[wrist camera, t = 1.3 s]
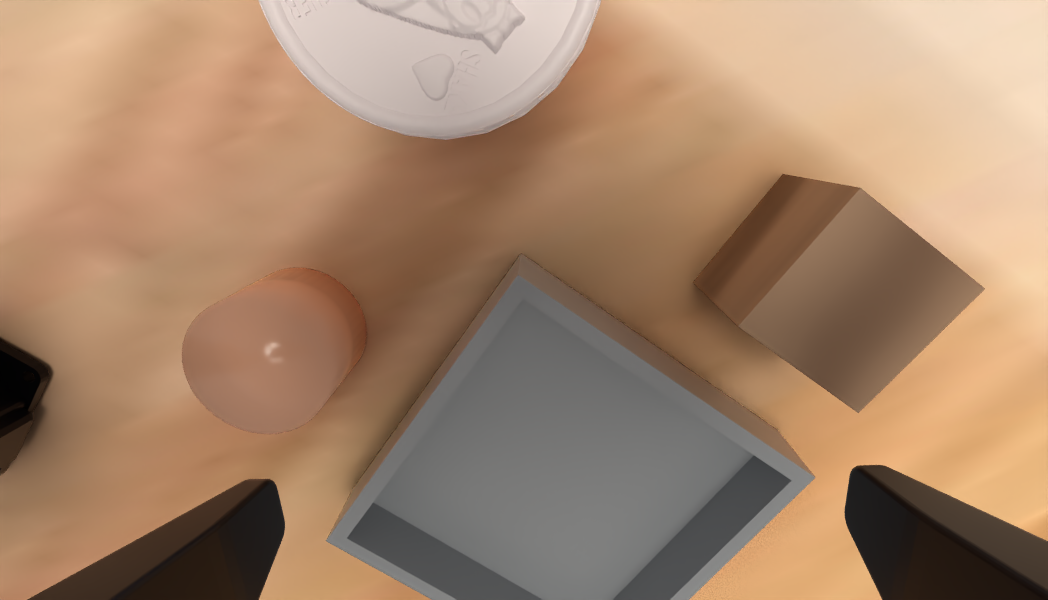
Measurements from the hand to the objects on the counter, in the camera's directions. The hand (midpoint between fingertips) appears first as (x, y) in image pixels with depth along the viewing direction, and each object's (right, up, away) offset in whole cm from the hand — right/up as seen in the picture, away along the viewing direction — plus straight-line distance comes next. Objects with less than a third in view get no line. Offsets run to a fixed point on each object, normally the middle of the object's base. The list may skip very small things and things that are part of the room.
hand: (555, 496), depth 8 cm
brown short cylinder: (-9, +2, +13) cm, 16 cm away
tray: (+1, -4, +15) cm, 15 cm away
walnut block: (+10, +4, +12) cm, 16 cm away
